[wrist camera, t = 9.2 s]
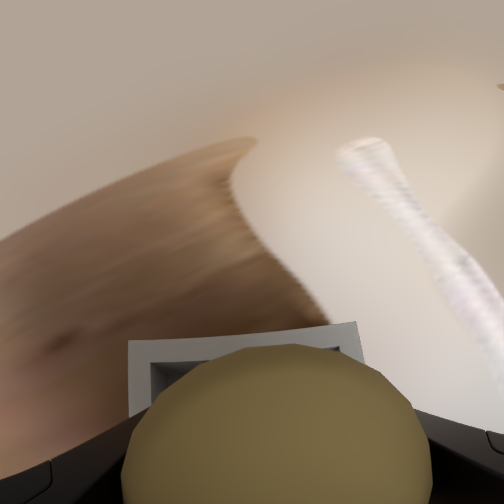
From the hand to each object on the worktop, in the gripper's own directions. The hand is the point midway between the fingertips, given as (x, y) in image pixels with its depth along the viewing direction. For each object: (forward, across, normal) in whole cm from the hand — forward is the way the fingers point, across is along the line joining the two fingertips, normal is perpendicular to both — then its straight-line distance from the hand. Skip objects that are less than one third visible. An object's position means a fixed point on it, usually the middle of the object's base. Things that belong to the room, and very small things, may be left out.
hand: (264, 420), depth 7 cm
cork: (+4, 0, -6) cm, 7 cm away
